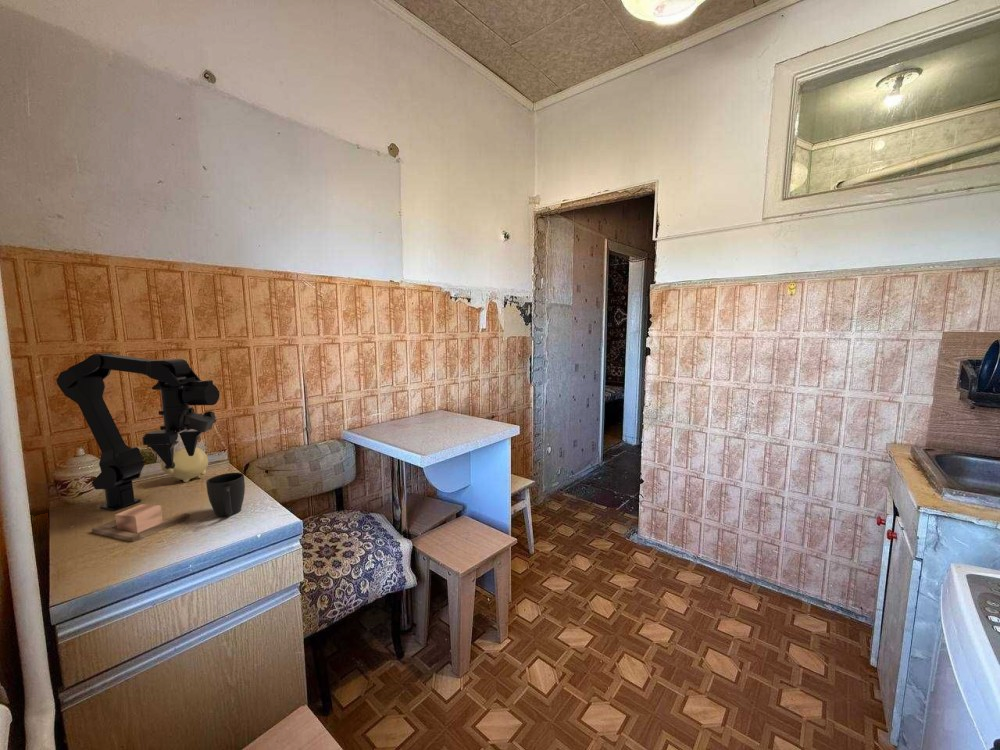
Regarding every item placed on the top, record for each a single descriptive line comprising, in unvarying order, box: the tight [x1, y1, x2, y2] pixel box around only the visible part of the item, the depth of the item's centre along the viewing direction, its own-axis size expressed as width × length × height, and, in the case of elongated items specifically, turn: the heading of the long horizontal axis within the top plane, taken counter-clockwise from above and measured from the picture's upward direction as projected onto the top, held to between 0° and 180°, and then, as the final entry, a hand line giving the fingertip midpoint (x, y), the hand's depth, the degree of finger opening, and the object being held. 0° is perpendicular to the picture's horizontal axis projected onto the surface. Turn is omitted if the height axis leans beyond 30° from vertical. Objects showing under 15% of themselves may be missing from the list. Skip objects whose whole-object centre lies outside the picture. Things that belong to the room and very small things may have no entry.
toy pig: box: [160, 446, 209, 483], centre depth 131 cm, size 10×12×11 cm
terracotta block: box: [114, 503, 164, 534], centre depth 100 cm, size 6×6×4 cm
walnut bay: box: [91, 512, 191, 543], centre depth 101 cm, size 15×12×1 cm
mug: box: [205, 472, 246, 518], centre depth 105 cm, size 8×12×10 cm
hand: (181, 461), depth 112 cm, fingers open, 9 cm apart
